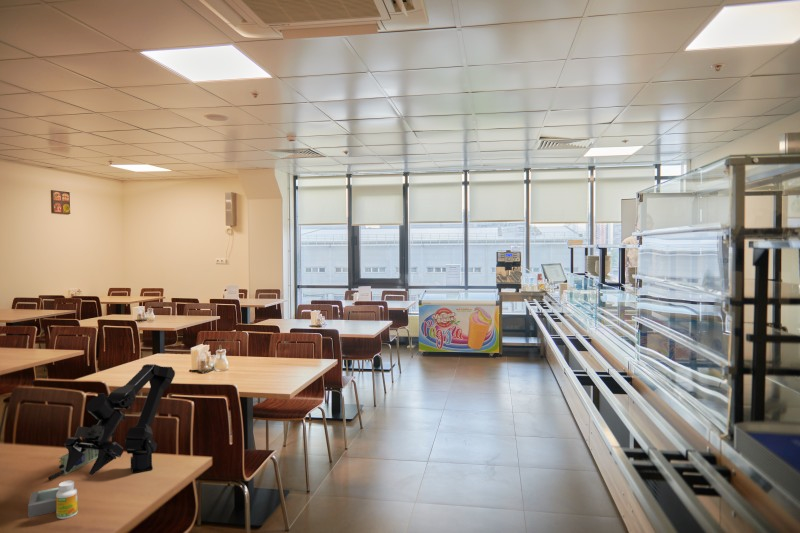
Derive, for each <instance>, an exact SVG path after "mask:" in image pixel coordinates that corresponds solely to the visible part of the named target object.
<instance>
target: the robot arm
mask: <svg viewBox="0 0 800 533" xmlns="http://www.w3.org/2000/svg"><path fill="white" fill-rule="evenodd" d="M175 376H176V371H175V369H174V368H173V367H172V366H161V365H158V364H155V363H154V364H153V363H152V364H150V363H149V364H148V363H147V364H144V365H142V367H141V369H140V370H139V371H138V372H137V373H136V374H135V375H134V376H133V377H132V378H131V379H130V380H128V382H126V384H124V385H123V386H121V387H117V388H116V389H114V390H112V391H111V392H110V393H109V394H108V395H106V393H104V392H103V393H102V392H101V393H100V392H98V394H97V396H94V397H93V398H91V399H90V400H89V401H87V402H86V406H85V408H86V411H88V413H89V414H91V415H92V416H93V417H94V418H95V419H96V420H98V422H97V424H92V425H91V427H86V426H77V428H76V431H75V433H74V437H73V436H69V437H67V438H66V440H65V442H64V443H63V445H64V446H65V449H67V451H68V453H69V455H68V460H67V465H66V469H65V471H66V472H69V471H70V470H71V469H72V468H73V467H74V465H75V464H76V463H77V462H78V461H79V460H80V458H81V457H82V456H83V455H84V454H83V452H84V451H86V449H91V450H99V452H98V458H97V459H95V460H94V463H93V465H92V467H91V469H90V471H89V472H88V475H90V476H93V475H94V474H96V473H97V472H99V470H101V469H102V468H104V467H105V466H106V465H107V464H109V463H111V462H112V461H113V460H116V459H117V458H121V456H122V455H123V453H124V447H123V446H121V445H120V444H119V443H118V442H116V441H112V440H110V439H111V437H112V438H115V436H116V433H115V431H116V429H117V427H118V425H119V424H120V422H121V421H126V420H127V419H126V418H127V417H126V415H125V411H121V410H128V409H130V408H131V407H132V406H133V404H134V403H135V402H136V400H137V399H136V398H137V394H139V392H140V391H141V390H142V389H143V388H144V386H146V384H147V383H149V386H150V388H149V391H148V393H147V396H146V399H145V402H144V405H143V407H142V410H141V412H140V415H139V418H138V421H137V423H136V425H134V426H133V427H132V426H131V427H129V429H128V431H127V434H126V436H125V440H124V446H125V451H126V453H127V455H129V454H131V456H130V470H131V472H132V474H137V473H141V472H142V473H143V472H146V471H151V470H154V469H153V458H152V457H153V456H152V454H154V453H155V451H157V447H158V443H157V442H156V441H155V440H154V439H153V437H154V435H153V434H154V433H153V429H152V425H153V423H154V420H155V417H156V414H157V412H158V408H159V406H160V402H161V400H162V397H163V394H164V391H165V390H166V389H167V388H169V386H170V385H172V382H173V380H174V378H175ZM80 437H81V438H80Z"/></svg>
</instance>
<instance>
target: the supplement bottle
mask: <svg viewBox="0 0 800 533" xmlns="http://www.w3.org/2000/svg"><path fill="white" fill-rule="evenodd" d="M58 487H59V491H58V492H57V494H56V512H55V514H56V518H57V519H59V520H65V519H70V518H73V517H74V516H75V515H77V514H78V509H79V508H78V489H77V488H76V487H75V481H74V480H69V479H68V480H64V481H62V482H59V483H58Z"/></svg>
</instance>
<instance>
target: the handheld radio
mask: <svg viewBox="0 0 800 533" xmlns="http://www.w3.org/2000/svg"><path fill="white" fill-rule="evenodd" d="M98 452H99V450H91V449H86V451H84V452H83V454H84V455H83V456H82V457H81V458H80V460H79V461H78V462H77V463H76V464H75V465H74V467H73V468H72V469H71V470H70V471H69V472H66V471H65V469H66V465H67V460H68V455H69V452H68V453H66V454H63V455H61V456H60V457H58V459H59V461H58V462H59V463H60V465H59V466H58V469H60V471H58V472H57V473H53V474H52V475H50V476H48V481H52V480H53V479H56V478H57V477H59V476H66V475H68V474H70V473H72V472H74V471H76V470H78V469H80V468H82V467H83V466H85V465H87V464H90V463H91V462H93V461H96V459H97V458H98Z"/></svg>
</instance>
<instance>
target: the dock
mask: <svg viewBox="0 0 800 533" xmlns="http://www.w3.org/2000/svg"><path fill="white" fill-rule="evenodd" d="M58 491H59V486H58V487H53V488H48V489H43V490H39V491H33V492H31V495H30V498H29V501H28V505H27V513H28V514H27V516H28V518H33V517H37V516H42V515H46V514H51V513H56V494H57V492H58Z"/></svg>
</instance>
